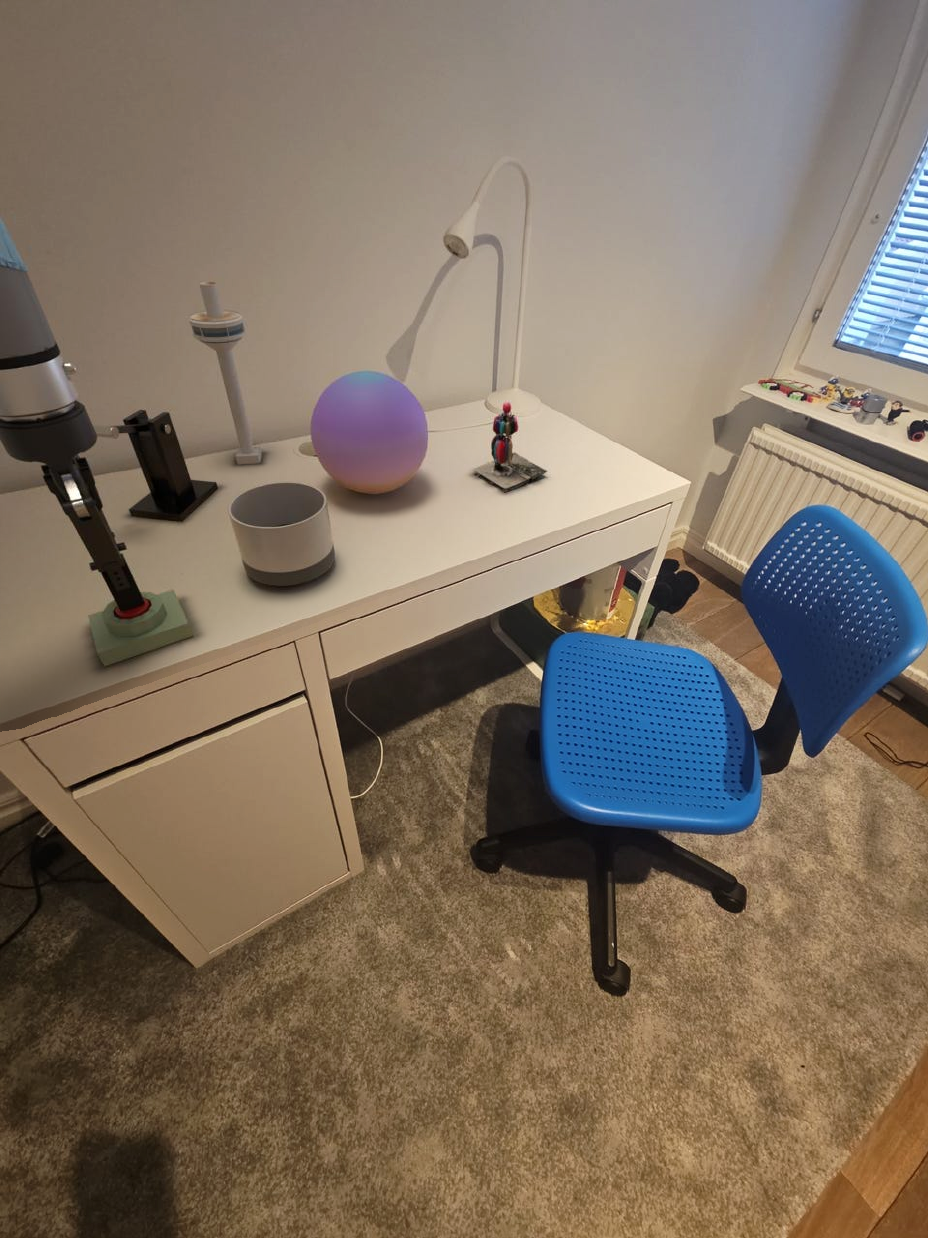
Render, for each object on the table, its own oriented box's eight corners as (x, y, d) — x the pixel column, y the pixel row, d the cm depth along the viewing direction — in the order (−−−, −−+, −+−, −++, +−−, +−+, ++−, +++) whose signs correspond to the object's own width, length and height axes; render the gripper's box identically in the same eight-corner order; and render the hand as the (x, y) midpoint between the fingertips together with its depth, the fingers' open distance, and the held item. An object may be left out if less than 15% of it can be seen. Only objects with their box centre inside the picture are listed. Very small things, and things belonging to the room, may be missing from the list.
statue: (505, 498, 100) (505, 421, 90) (473, 478, 106) (469, 403, 95) (547, 476, 105) (552, 400, 94) (514, 458, 110) (515, 384, 99)
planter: (244, 550, 83) (227, 487, 76) (329, 537, 86) (319, 476, 79) (248, 600, 73) (228, 534, 67) (342, 584, 77) (333, 520, 70)
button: (123, 630, 65) (117, 619, 63) (118, 614, 67) (112, 603, 66) (155, 620, 66) (150, 609, 65) (149, 604, 68) (144, 593, 67)
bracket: (181, 521, 88) (150, 433, 79) (131, 515, 89) (93, 427, 80) (218, 488, 97) (193, 405, 88) (171, 483, 98) (142, 400, 89)
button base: (104, 666, 63) (90, 641, 61) (95, 628, 68) (81, 603, 66) (193, 636, 68) (183, 611, 65) (178, 602, 73) (169, 578, 70)
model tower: (230, 451, 109) (185, 278, 89) (273, 449, 110) (237, 278, 91) (224, 469, 103) (174, 288, 83) (270, 467, 104) (231, 288, 85)
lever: (112, 442, 74) (109, 423, 73) (76, 438, 75) (72, 420, 74) (173, 436, 86) (171, 420, 85) (141, 433, 87) (139, 417, 86)
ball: (451, 488, 100) (453, 375, 87) (368, 527, 89) (356, 404, 76) (380, 455, 110) (372, 349, 97) (297, 487, 98) (275, 371, 85)
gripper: (91, 422, 47) (177, 623, 63) (74, 380, 55) (154, 567, 71) (-13, 440, 44) (105, 647, 60) (-15, 392, 52) (89, 586, 68)
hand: (131, 603), depth 65 cm, fingers closed
